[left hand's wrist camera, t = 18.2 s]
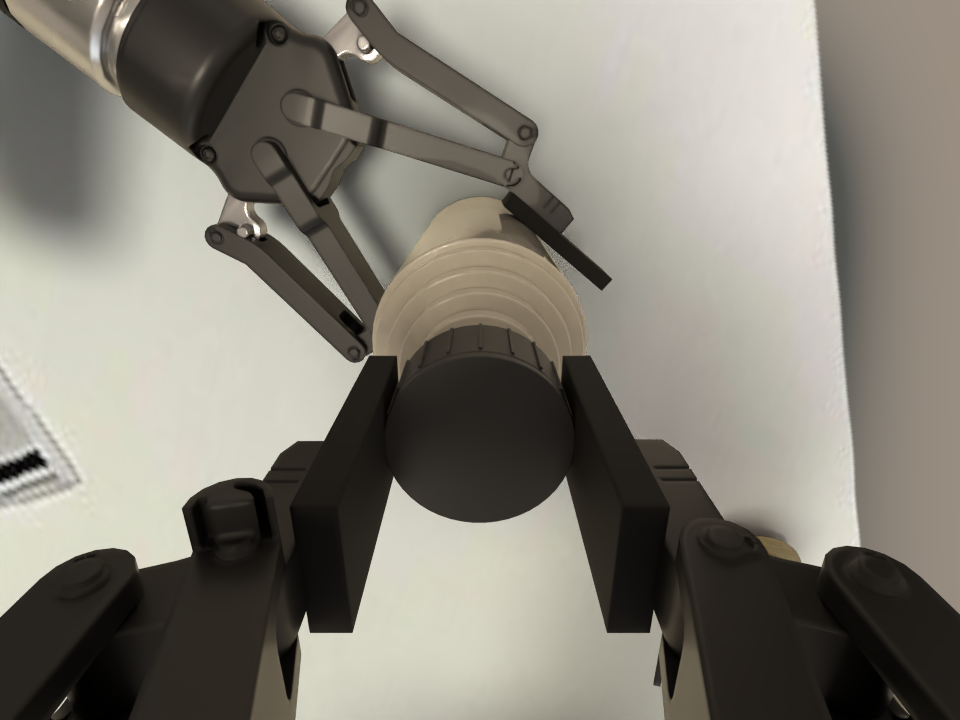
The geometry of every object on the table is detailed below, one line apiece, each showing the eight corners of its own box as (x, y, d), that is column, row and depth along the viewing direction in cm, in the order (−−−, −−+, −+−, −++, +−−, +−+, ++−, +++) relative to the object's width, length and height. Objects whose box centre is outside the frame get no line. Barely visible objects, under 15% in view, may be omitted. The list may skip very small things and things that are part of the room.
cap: (369, 352, 14) (349, 388, 12) (536, 298, 14) (547, 326, 11) (430, 489, 16) (422, 543, 14) (581, 446, 15) (598, 496, 13)
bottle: (452, 334, 36) (415, 586, 15) (398, 229, 33) (265, 362, 13) (557, 287, 34) (672, 492, 14) (510, 174, 32) (565, 222, 11)
